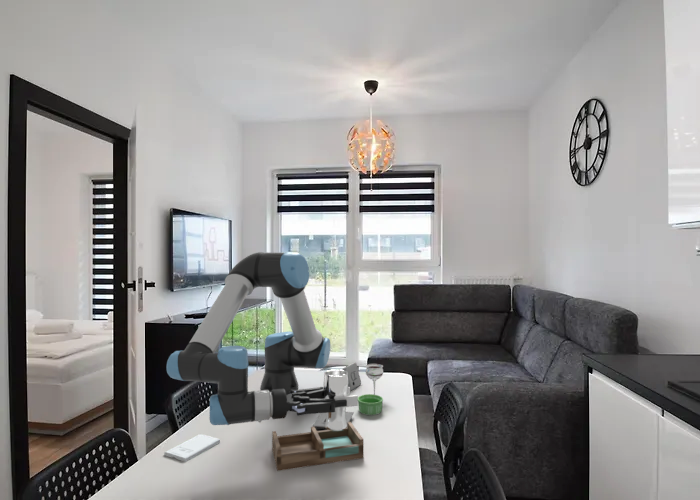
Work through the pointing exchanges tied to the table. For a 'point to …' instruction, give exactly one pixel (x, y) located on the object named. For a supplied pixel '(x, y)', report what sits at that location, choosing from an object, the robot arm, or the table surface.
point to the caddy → (316, 447)
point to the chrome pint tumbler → (336, 388)
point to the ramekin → (370, 404)
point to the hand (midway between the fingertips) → (353, 396)
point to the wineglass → (374, 372)
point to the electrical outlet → (322, 420)
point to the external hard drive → (192, 447)
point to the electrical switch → (352, 376)
